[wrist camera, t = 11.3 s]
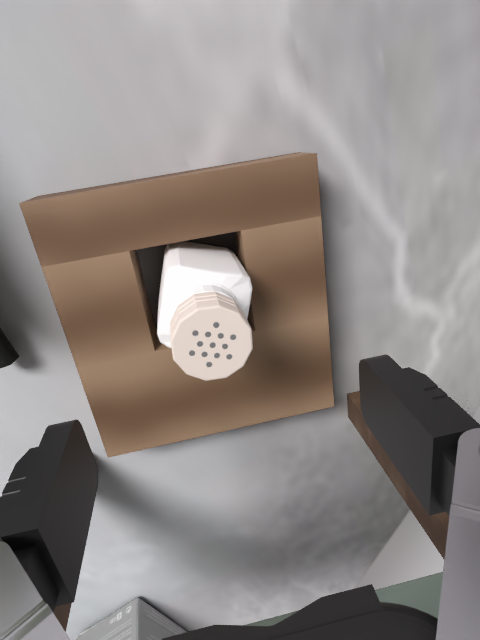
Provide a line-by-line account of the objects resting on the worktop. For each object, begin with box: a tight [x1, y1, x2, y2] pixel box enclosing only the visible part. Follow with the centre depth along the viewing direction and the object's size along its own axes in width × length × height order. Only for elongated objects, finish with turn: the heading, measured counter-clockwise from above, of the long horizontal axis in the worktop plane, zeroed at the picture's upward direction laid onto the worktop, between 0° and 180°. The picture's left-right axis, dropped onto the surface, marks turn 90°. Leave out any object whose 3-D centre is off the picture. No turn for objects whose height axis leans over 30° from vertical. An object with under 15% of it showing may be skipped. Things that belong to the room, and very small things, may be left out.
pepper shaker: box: [157, 241, 253, 381], centre depth 20 cm, size 4×4×10 cm
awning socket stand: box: [19, 152, 449, 632], centre depth 18 cm, size 19×23×18 cm
